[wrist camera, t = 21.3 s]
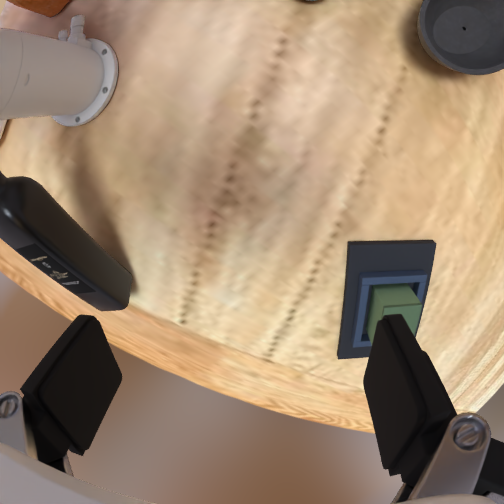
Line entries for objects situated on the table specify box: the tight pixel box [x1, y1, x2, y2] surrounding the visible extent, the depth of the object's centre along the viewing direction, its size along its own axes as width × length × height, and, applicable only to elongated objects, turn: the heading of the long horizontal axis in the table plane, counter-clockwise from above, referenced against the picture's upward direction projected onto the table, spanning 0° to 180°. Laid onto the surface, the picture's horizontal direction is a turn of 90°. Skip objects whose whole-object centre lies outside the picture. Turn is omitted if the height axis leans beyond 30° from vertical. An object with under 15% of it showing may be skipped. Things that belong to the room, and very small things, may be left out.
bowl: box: [417, 0, 504, 75], centre depth 19 cm, size 12×22×6 cm, turn 129°
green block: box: [366, 283, 422, 345], centre depth 34 cm, size 7×5×6 cm
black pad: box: [337, 240, 436, 359], centre depth 36 cm, size 18×12×3 cm, turn 4°
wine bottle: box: [0, 171, 132, 311], centre depth 26 cm, size 6×6×30 cm
